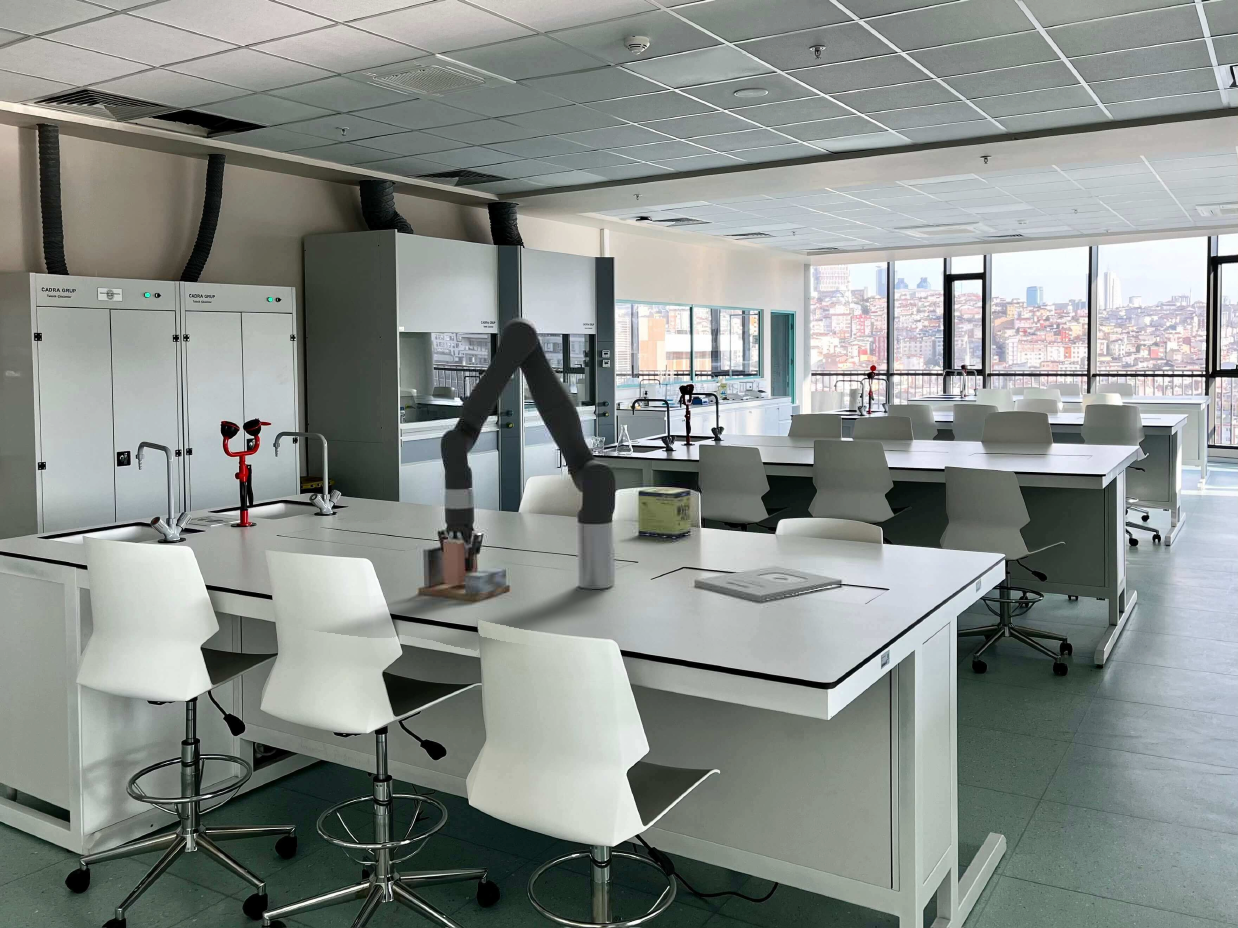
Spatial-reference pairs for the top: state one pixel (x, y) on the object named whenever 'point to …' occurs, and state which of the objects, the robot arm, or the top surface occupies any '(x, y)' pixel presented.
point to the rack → (472, 586)
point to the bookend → (433, 566)
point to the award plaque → (766, 583)
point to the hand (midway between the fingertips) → (461, 570)
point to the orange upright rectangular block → (456, 561)
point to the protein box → (664, 512)
